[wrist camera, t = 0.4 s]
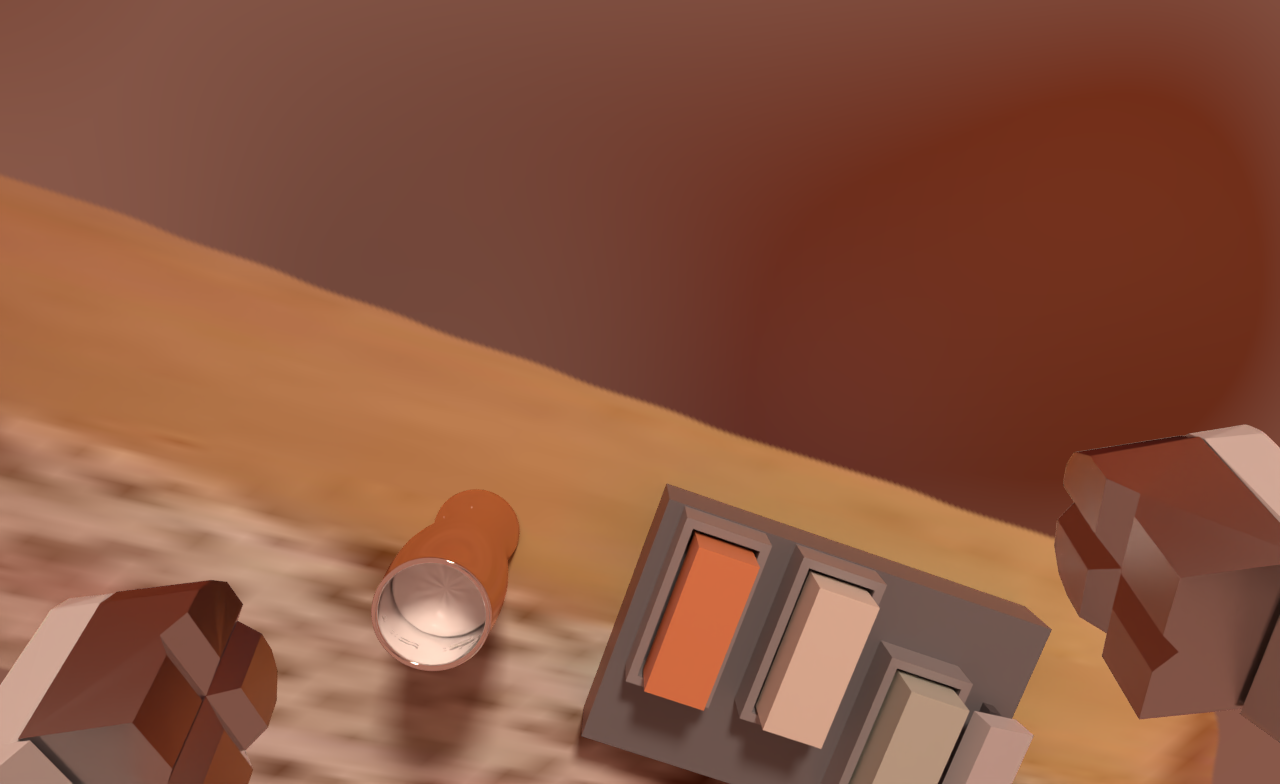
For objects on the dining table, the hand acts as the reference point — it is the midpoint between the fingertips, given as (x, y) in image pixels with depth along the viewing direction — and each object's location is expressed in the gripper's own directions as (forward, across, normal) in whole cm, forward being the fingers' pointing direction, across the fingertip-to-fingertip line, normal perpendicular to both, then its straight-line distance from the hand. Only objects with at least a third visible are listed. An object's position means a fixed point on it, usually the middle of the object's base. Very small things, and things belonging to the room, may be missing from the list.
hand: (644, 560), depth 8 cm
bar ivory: (+31, +6, -42) cm, 52 cm away
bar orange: (+32, -1, -38) cm, 50 cm away
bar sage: (+27, +11, -49) cm, 57 cm away
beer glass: (+40, -16, -36) cm, 55 cm away
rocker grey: (+26, +16, -52) cm, 60 cm away
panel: (+34, +6, -48) cm, 59 cm away
